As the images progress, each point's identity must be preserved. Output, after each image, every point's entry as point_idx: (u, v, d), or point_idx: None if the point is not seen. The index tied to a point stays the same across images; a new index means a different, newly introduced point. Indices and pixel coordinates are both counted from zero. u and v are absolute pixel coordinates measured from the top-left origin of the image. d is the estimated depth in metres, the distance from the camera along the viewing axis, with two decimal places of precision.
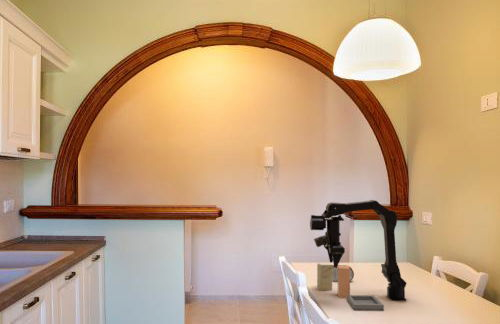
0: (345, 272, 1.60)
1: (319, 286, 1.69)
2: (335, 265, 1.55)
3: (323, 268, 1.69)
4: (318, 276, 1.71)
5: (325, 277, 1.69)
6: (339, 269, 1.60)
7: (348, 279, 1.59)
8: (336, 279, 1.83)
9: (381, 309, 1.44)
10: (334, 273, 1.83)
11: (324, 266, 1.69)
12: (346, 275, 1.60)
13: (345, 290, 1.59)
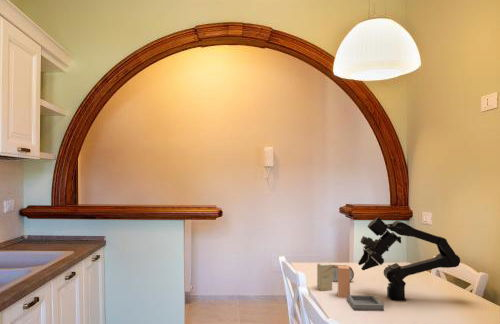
0: (345, 272, 1.60)
1: (319, 286, 1.69)
2: (363, 268, 1.56)
3: (323, 268, 1.69)
4: (318, 276, 1.71)
5: (325, 277, 1.69)
6: (339, 269, 1.60)
7: (348, 279, 1.59)
8: (336, 279, 1.83)
9: (381, 309, 1.44)
10: (334, 273, 1.83)
11: (324, 266, 1.69)
12: (345, 275, 1.60)
13: (345, 290, 1.59)
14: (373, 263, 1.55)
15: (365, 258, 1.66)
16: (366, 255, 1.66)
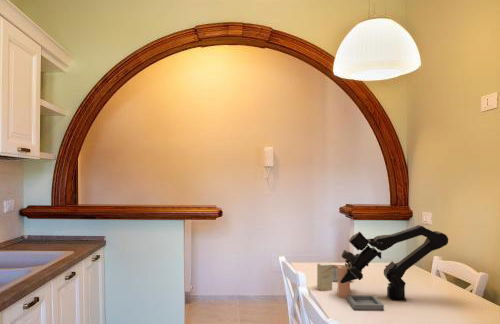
0: (345, 272, 1.60)
1: (319, 286, 1.69)
2: (342, 281, 1.59)
3: (323, 268, 1.69)
4: (318, 276, 1.71)
5: (325, 277, 1.69)
6: (339, 269, 1.60)
7: None
8: (336, 279, 1.83)
9: (381, 309, 1.44)
10: (334, 273, 1.83)
11: (324, 266, 1.69)
12: None
13: (345, 290, 1.59)
14: (352, 277, 1.57)
15: None
16: None
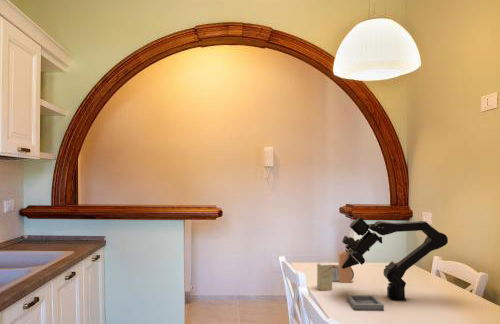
0: (346, 258, 1.59)
1: (319, 286, 1.69)
2: (343, 266, 1.58)
3: (323, 268, 1.69)
4: (318, 276, 1.71)
5: (325, 277, 1.69)
6: (340, 255, 1.59)
7: None
8: (336, 279, 1.83)
9: (381, 309, 1.44)
10: (334, 273, 1.83)
11: (324, 266, 1.69)
12: None
13: (346, 275, 1.59)
14: (353, 262, 1.57)
15: None
16: None
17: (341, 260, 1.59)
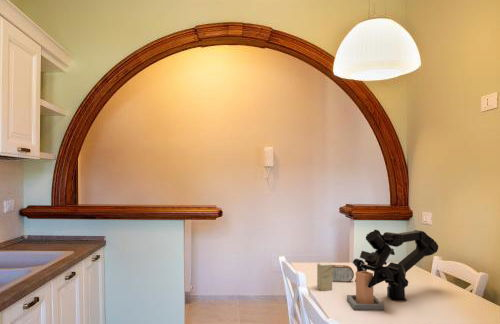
0: (370, 278, 1.48)
1: (319, 286, 1.69)
2: (370, 285, 1.46)
3: (323, 268, 1.69)
4: (318, 276, 1.71)
5: (325, 277, 1.69)
6: (364, 276, 1.47)
7: None
8: (336, 279, 1.83)
9: (381, 309, 1.44)
10: (334, 273, 1.83)
11: (324, 266, 1.69)
12: None
13: (370, 297, 1.48)
14: (379, 279, 1.47)
15: None
16: None
17: (365, 281, 1.47)
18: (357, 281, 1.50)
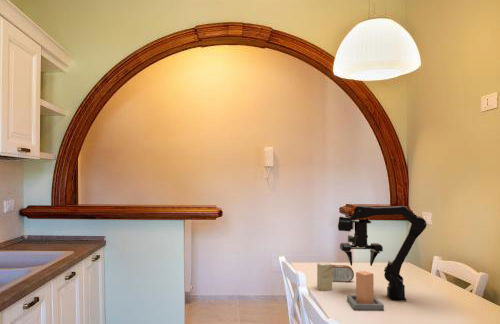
0: (370, 278, 1.48)
1: (319, 286, 1.69)
2: (350, 263, 1.65)
3: (323, 268, 1.69)
4: (318, 276, 1.71)
5: (325, 277, 1.69)
6: (365, 276, 1.47)
7: (372, 285, 1.49)
8: (336, 279, 1.83)
9: (381, 309, 1.44)
10: (334, 273, 1.83)
11: (324, 266, 1.69)
12: (370, 281, 1.48)
13: (370, 297, 1.48)
14: None
15: (371, 256, 1.65)
16: (371, 253, 1.66)
17: (366, 281, 1.47)
18: (357, 281, 1.50)
